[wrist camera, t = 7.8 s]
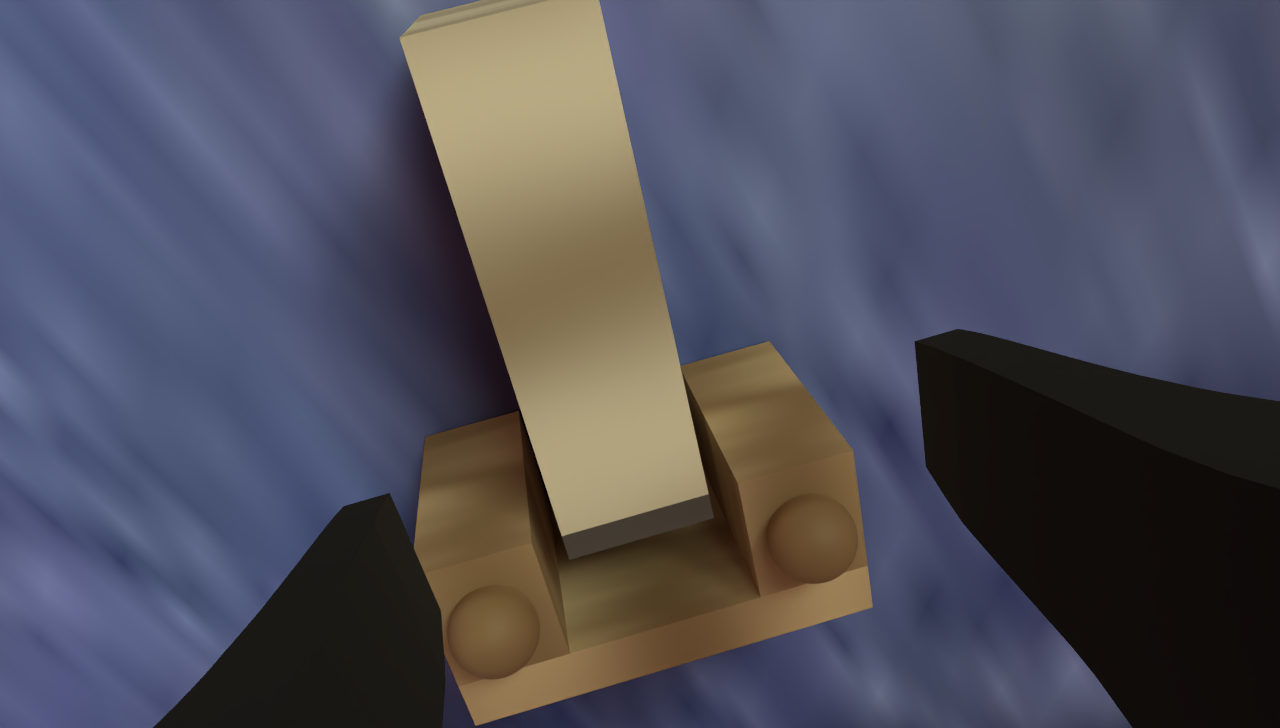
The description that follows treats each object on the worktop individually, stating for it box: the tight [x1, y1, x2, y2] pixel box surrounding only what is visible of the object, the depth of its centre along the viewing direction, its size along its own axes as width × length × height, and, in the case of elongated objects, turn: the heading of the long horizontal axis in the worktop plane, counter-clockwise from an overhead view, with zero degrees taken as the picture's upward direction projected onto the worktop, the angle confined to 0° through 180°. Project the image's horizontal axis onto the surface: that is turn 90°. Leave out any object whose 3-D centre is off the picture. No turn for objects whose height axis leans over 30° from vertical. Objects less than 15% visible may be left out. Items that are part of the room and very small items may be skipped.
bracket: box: [414, 341, 873, 726], centre depth 20 cm, size 9×4×7 cm, turn 103°
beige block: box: [400, 0, 714, 560], centre depth 18 cm, size 10×3×6 cm, turn 13°
